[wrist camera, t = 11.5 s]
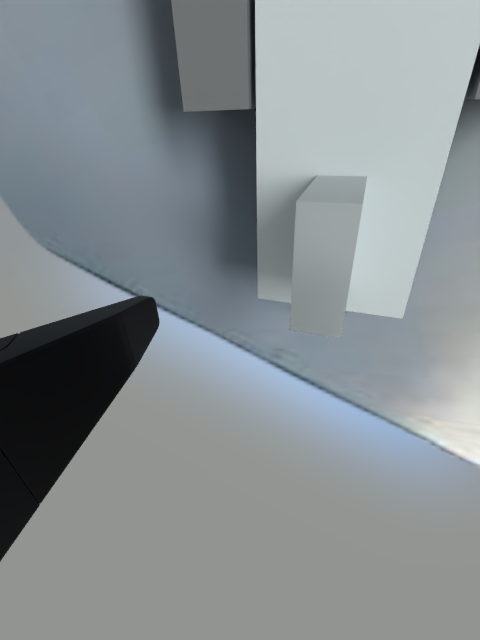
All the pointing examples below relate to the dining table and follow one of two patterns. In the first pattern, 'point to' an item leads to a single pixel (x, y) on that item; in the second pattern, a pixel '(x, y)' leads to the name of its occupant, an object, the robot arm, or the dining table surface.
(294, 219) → the white stepped block
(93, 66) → the dining table surface
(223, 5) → the filter housing
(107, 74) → the dining table surface
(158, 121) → the dining table surface
